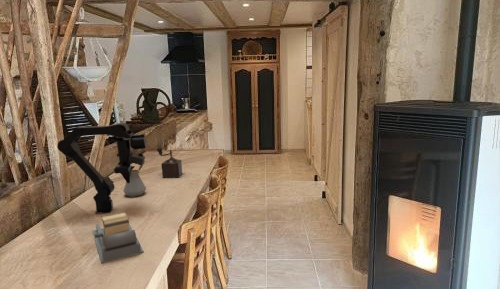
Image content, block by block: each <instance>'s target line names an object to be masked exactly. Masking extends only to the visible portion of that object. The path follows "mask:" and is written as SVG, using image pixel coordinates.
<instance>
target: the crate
mask: <svg viewBox="0 0 500 289" xmlns="http://www.w3.org/2000/svg"><path fill="white" fill-rule="evenodd" d="M101 220H102V221H101V222H102V226H103V228H104V230H103V231H104V236H109V235H113V234H118V233H122V232H127V231H129V224H130V222H129V221H130V220H129V217H128V216H127V214H126V213H125V212H121V213H116V214H110V215H107V216H102V218H101ZM103 228H102V229H103Z"/></svg>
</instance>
